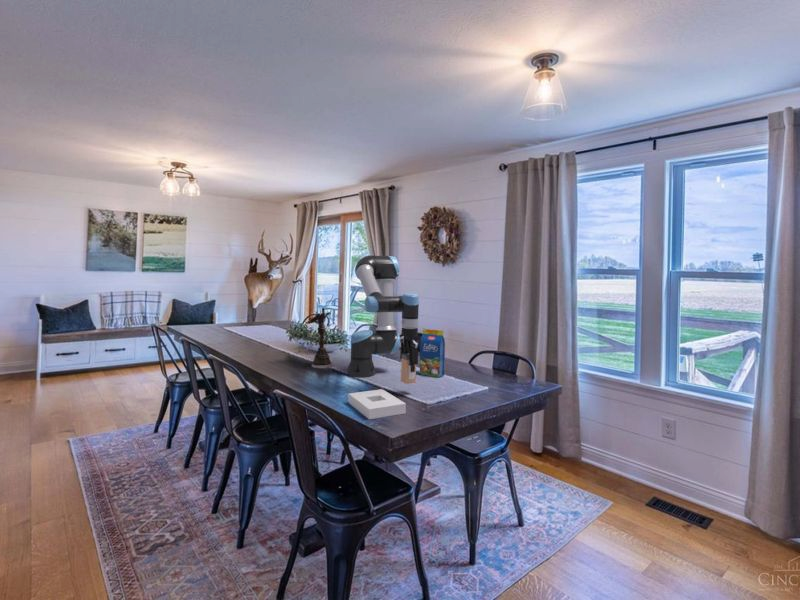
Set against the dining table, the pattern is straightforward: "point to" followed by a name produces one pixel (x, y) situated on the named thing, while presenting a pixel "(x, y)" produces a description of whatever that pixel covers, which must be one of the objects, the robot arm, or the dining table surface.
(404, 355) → the plug
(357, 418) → the dining table surface
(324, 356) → the bird statue
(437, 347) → the blue food package
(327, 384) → the dining table surface
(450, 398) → the dining table surface
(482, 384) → the dining table surface
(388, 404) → the socket
